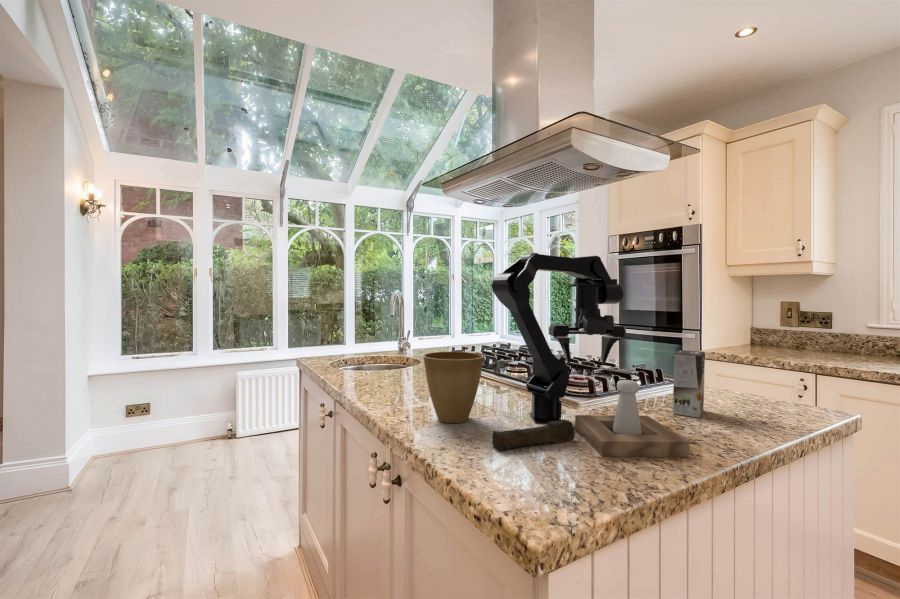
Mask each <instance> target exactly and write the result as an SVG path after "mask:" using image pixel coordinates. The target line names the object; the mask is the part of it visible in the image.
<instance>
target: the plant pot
mask: <svg viewBox="0 0 900 599" xmlns="http://www.w3.org/2000/svg"><path fill="white" fill-rule="evenodd" d="M484 358H485V356H484V355H483V354H481V353H477V352H476V353H475V352H469V351H467V352H466V351H435V352H433V351H432V352H429V353H425V354H423V362H424V371H425V377H426V382H427V383H426V384H427V388H428V391H429V396H430V399H431V403H432V406H433V409H434V412H435V414H436V417H437V420H438V421H440V422H442V423H446V424H461V423H464V422H467V421H468V420H469V417H470V414H471V411H472V409H473V406H474V402H475V399H476V396H477V392H478V389H479V384H480V380H481V375H482V369H483V363H484Z"/></svg>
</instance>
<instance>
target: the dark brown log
mask: <svg viewBox="0 0 900 599" xmlns="http://www.w3.org/2000/svg"><path fill="white" fill-rule="evenodd" d="M574 439H575V427H574V426H573V423H572V422H571V421H570V420H568V419H560V421H558V420H557V421H551V422H548V423H547V425H543V426H542V425H541V426H536V427H527V428H522V429H510V430H504V431H503V430H502V431H495V430H493V431H492V436H491V440H492V441H491V444H492V445H493V446H492V447H493V449H495V450H496V451H497V452H502V450H505V451H508V450H509V449H512V448H517V447H524V446H532V445H537V444H538V445H539V444H544V443H550V444H553V445H559V444H564V443H567V442H569V441H572V440H574Z"/></svg>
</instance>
